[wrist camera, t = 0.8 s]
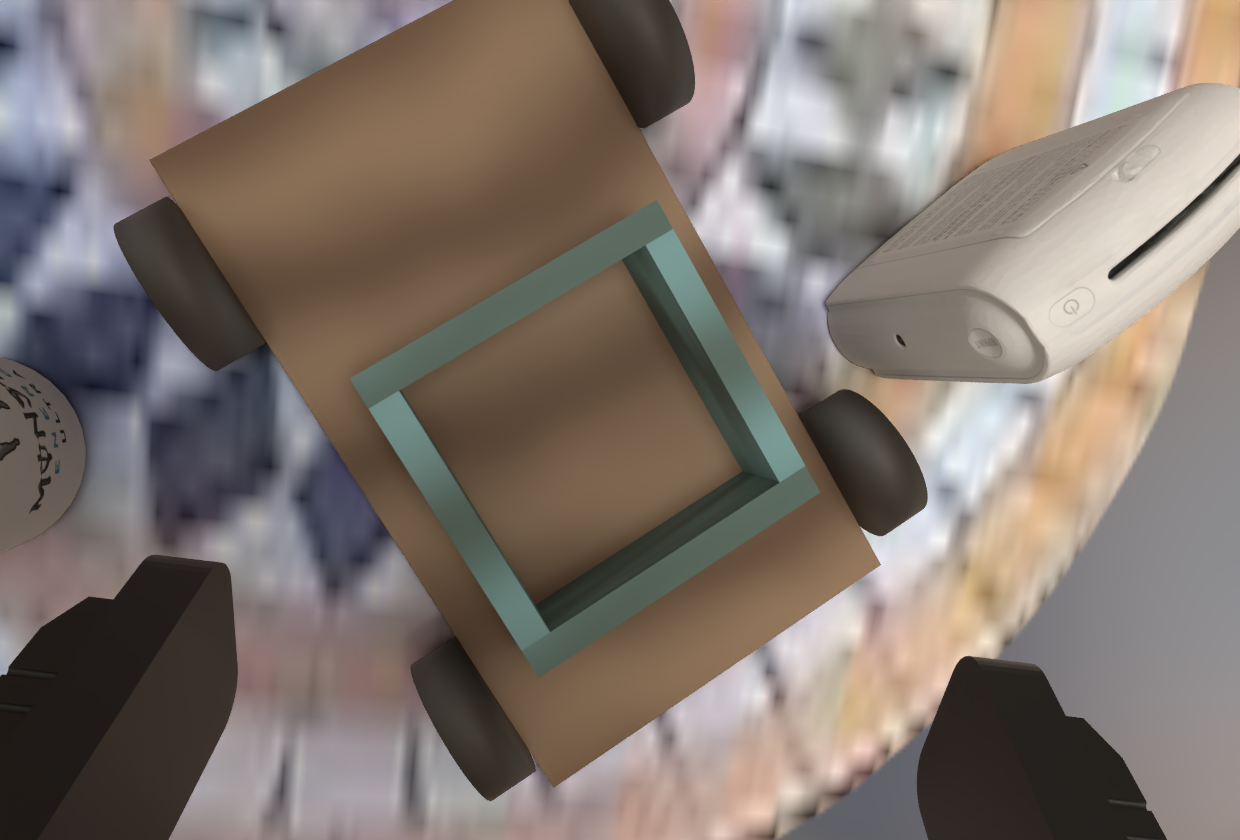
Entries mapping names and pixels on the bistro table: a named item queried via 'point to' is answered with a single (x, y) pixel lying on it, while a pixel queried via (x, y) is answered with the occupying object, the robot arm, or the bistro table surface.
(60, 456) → the energy drink can
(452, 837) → the bistro table surface
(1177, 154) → the photo printer
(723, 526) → the chassis
